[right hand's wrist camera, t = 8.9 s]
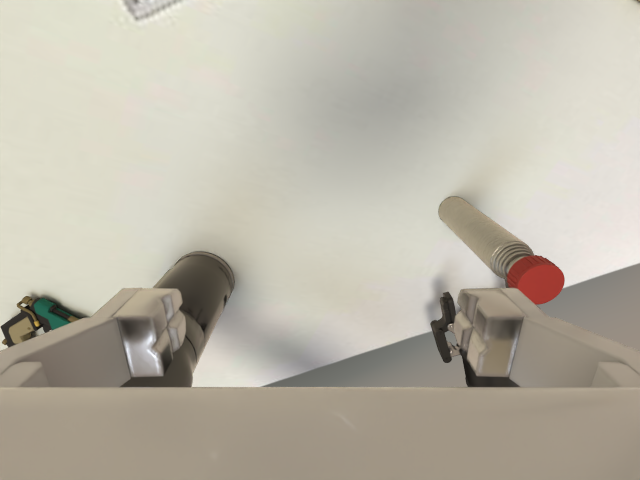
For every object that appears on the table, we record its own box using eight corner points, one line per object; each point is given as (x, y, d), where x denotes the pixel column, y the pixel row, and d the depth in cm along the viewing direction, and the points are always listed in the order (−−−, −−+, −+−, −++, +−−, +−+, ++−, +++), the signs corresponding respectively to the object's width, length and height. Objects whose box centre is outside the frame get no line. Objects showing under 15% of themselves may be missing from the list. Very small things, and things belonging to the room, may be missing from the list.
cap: (516, 251, 30) (527, 260, 29) (559, 258, 31) (573, 268, 29) (499, 290, 32) (509, 301, 30) (540, 296, 32) (553, 308, 30)
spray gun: (2, 325, 58) (54, 270, 55) (84, 387, 62) (137, 340, 58) (-22, 340, 54) (32, 282, 51) (66, 406, 57) (123, 356, 54)
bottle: (443, 194, 49) (525, 258, 29) (470, 198, 49) (570, 265, 29) (434, 221, 50) (507, 299, 30) (461, 225, 50) (550, 306, 31)
